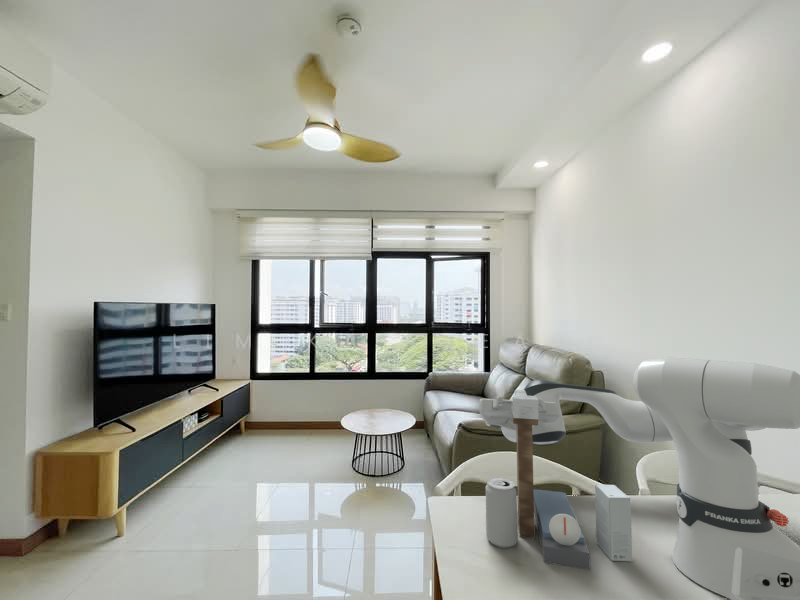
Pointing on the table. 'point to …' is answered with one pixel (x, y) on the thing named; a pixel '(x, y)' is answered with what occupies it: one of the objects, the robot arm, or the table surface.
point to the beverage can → (501, 512)
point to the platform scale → (559, 530)
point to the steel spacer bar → (524, 405)
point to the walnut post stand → (525, 475)
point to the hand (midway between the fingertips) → (519, 400)
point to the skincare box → (613, 522)
